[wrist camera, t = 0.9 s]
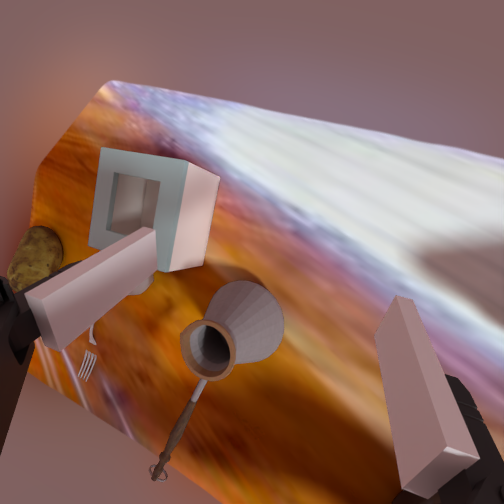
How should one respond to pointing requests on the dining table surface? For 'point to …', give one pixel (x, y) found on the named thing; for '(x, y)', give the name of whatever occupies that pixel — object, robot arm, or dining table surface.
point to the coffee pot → (226, 343)
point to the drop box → (154, 205)
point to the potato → (35, 258)
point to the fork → (88, 356)
